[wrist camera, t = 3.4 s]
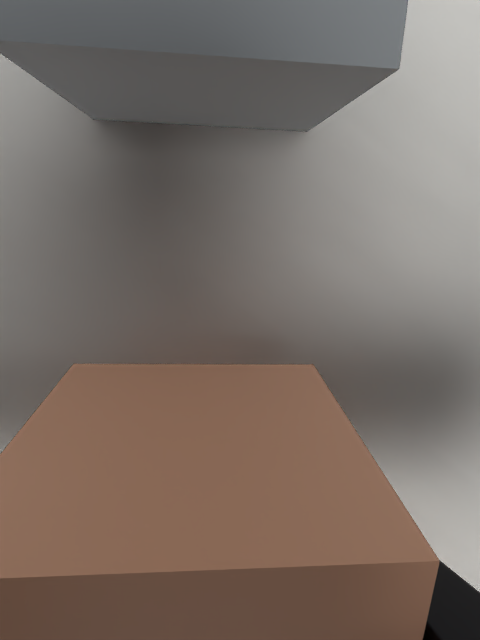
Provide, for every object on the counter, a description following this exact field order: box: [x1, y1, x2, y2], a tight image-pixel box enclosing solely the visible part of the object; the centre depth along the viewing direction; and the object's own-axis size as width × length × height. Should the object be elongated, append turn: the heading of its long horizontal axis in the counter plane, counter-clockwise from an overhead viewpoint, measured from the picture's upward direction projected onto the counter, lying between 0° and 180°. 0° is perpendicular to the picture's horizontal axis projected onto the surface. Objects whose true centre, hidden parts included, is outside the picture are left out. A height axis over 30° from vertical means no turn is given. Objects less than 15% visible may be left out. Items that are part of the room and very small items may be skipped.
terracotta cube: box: [0, 364, 440, 640], centre depth 7 cm, size 5×5×5 cm
